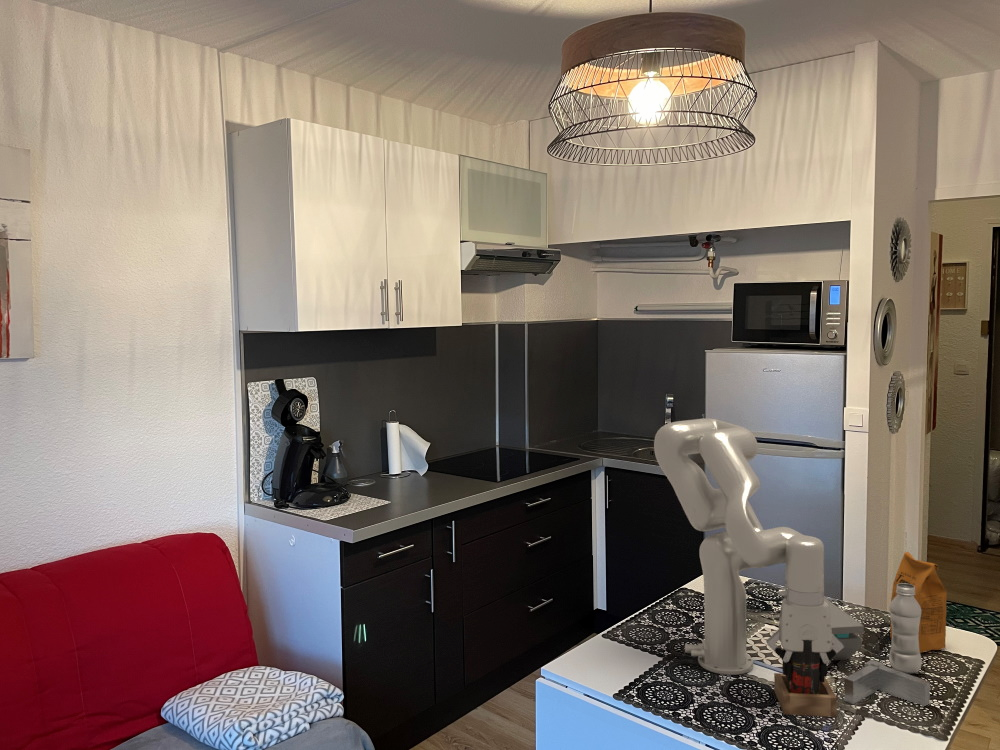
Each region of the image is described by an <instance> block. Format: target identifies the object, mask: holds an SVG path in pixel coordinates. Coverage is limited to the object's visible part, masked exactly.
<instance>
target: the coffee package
mask: <svg viewBox="0 0 1000 750" xmlns="http://www.w3.org/2000/svg"><path fill="white" fill-rule="evenodd" d="M937 570H939V566H938V564H937V563H933V562H927V561H923V560H918V559H915V558H914V556H913V555H912V554H911V553H910V552H909V551H905V552H904V554H903V556H902V558H901V561H900V563H899V566H898V570H897V571H896V574H895V577H894V581H893V584H892V590H891V591H892V592H891V598H890V599H891V600H890V602H891V601H892V600H893V599H894V598H895V597H896V596H897V593H896V590H897V584H900V583H906V584H911V585H913V586H915V596H914V598H915V599H916V600H917V602H918V603H919V605H920V607H921V618H920V624H919V633H918V634H919V637H918V639H919V650H920V654H922V653H924V652H925V653H926V652H929V651H932V650H936V651H939V650H940V651H941V650H942V649H945V648H946V636H947V632H946V631H947V630H946V629H947V600H948V599H947V595H948V593H947V591H946V589H945V587H944V584H943V583H942V581H941V578H940V577H939V576H938V574H937ZM890 618H891V616H890ZM889 628H890V630H889V631H890V636H889V637H890V639H892V623H891V622H890V627H889Z"/></svg>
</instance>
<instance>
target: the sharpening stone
mask: <svg viewBox="0 0 1000 750" xmlns="http://www.w3.org/2000/svg"><path fill="white" fill-rule="evenodd" d="M824 601H825V602H826V603H827V604H828V606H829V611H830V618H831V629H832V634H833V635H834V636H835V637H836V638H837V639H838V640H839V641H840V642H841V643H842V644H843V646H844V647H843V649H841V650H840V651H839V652H838V653H836V655H835V656H834V657H833V658H832V659H833V660H832V659H831V661H841V660H842V661H844V660H847V659H848V660H850V659H851V657H853V656H854V655H855V654H856V653H857V652H858V651H859V650H860V649H861V648H862V638H861V636H859V635H858V634H863V633H865V631H864V630H865V626H864V625H863V624H862V623H860V622H859V621H857V620H856V619H854V617H852V616H851V615H849V614H848V613H847V612H845V611H844V610H842V608H840V607H838V606H837V605H836V604H834V603H833V602H831V601H830V600H829V599H828V598H826V597H825V596H824ZM832 646H833V643H832Z"/></svg>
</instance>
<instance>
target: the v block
mask: <svg viewBox="0 0 1000 750" xmlns="http://www.w3.org/2000/svg"><path fill="white" fill-rule="evenodd" d="M843 680H844V681H843V682H844V684H843V685H844V687H843V688H844V689H843V690H844V691H843V694H844V695H843V696H844V697H843V698H844V699H843V701H844V702H846V703H848V704H851V705H855V704H857V703H858V702H860V701H862V700H864V699H865V698H867V697H869V696H870V695H873V694H874V693H876V692H878V691H877V690H879V692H882V693H885V694H887V693H888V694H887V695H889V694H890V696H892V697H895V698H897V697H898V699H900V698H901V699H900V700H903V699H904V700H903V701H905V700H907V701H906V702H908V701H910V702H909V703H911V702H913V703H917V704H920V705H923V706H926V705H928V704H929V705H930V700H931V699H930V698H931V697H930V690H931V689H930V688H931V687H930V686H931V684H930V683H931V681H929V680H925V679H924V678H923V679H922V678H920V677H917V676H915V675H911V674H908V673H903V672H900V671H897V670H894V669H893V668H891V667H888V666H886V663H884V662H880V661H878V660H875V659H870V660H869V661H867V662H865V663H864V667H863V668H861V669H859V670H857V671H855V672H853V673H852V674H849V675H848V676H846V677H844V679H843ZM913 703H912V704H913ZM929 705H928V706H929Z"/></svg>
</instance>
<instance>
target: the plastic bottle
mask: <svg viewBox="0 0 1000 750" xmlns="http://www.w3.org/2000/svg"><path fill="white" fill-rule="evenodd" d="M896 593H897V596H896V597H895V598H894V599H893V600H892V601H891V600H890V603H889V607H888V608H889V615H890V616H891V617H890V624H891V623H892V638H891V645H890V650H889V656H888V659H889V660H888V661H889V665H890V666H891V667H892V668H891V669H894V670H897V671H900V672H903V673H906V674H909V675H911V674H916V673H918V672H919V671H920V670H921V668H922V663H923V662H922V656H921V653H920V650H919V639H918V637H919V634H918V633H919V624H920V618H921V607H920V605H919V603H918V602H917V600H916V599H915V598H914V596H915V586H913V585H911V584H906V583H900V584H897V590H896Z"/></svg>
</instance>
